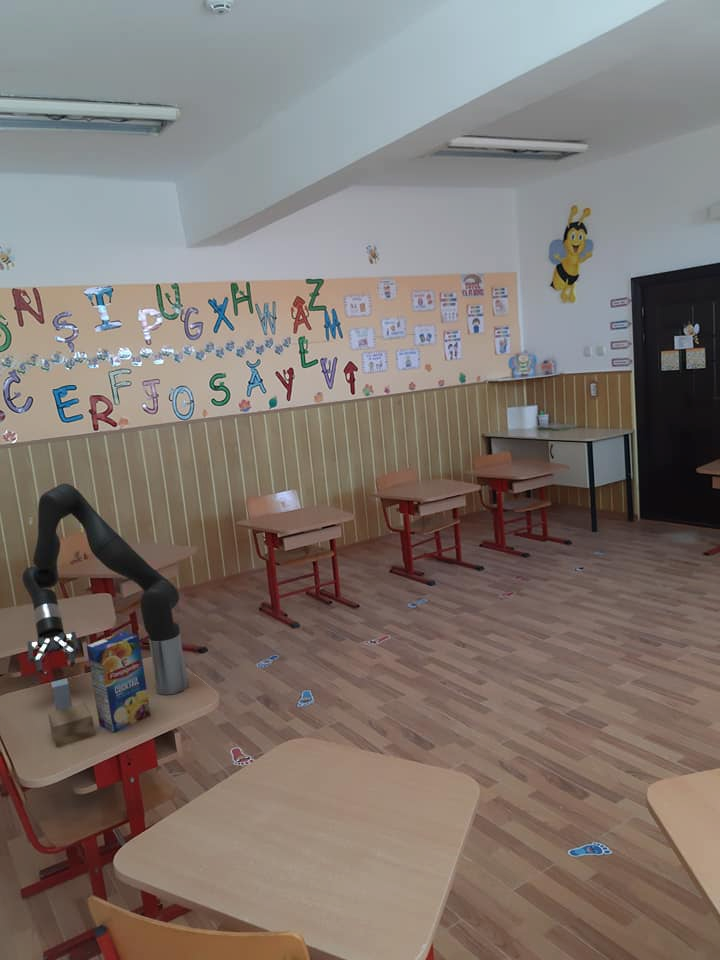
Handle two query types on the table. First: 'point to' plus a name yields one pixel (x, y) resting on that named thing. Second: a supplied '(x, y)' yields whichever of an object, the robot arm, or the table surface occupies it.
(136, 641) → the juice carton
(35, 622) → the robot arm
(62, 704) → the slate column
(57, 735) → the walnut block
